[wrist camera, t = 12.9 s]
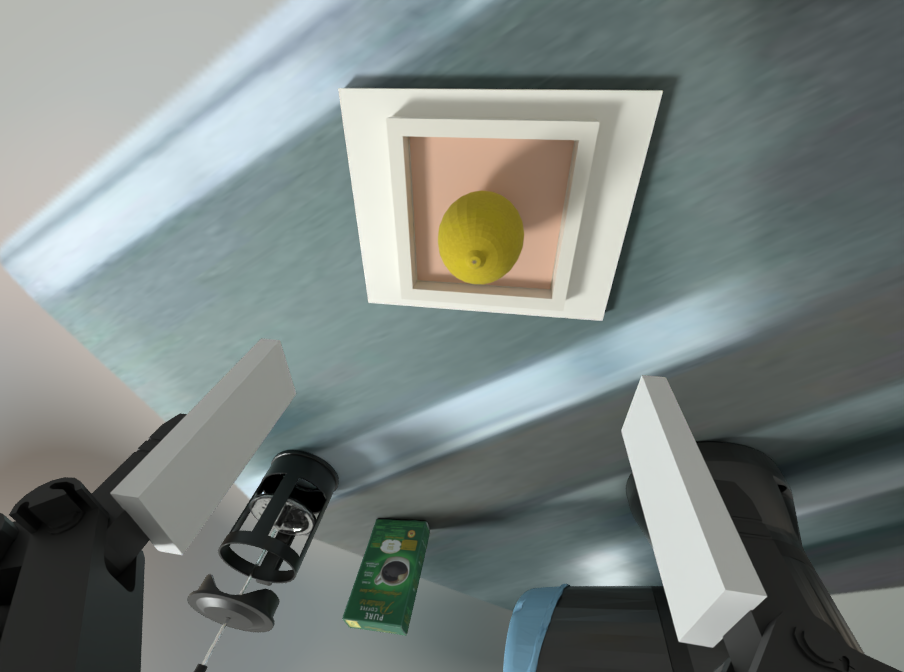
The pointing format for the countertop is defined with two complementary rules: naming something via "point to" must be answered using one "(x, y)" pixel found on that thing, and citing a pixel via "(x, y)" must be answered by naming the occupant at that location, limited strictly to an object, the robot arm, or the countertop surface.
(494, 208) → the lemon
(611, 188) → the tray
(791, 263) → the countertop surface
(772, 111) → the countertop surface
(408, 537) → the coffee box
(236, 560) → the french press
